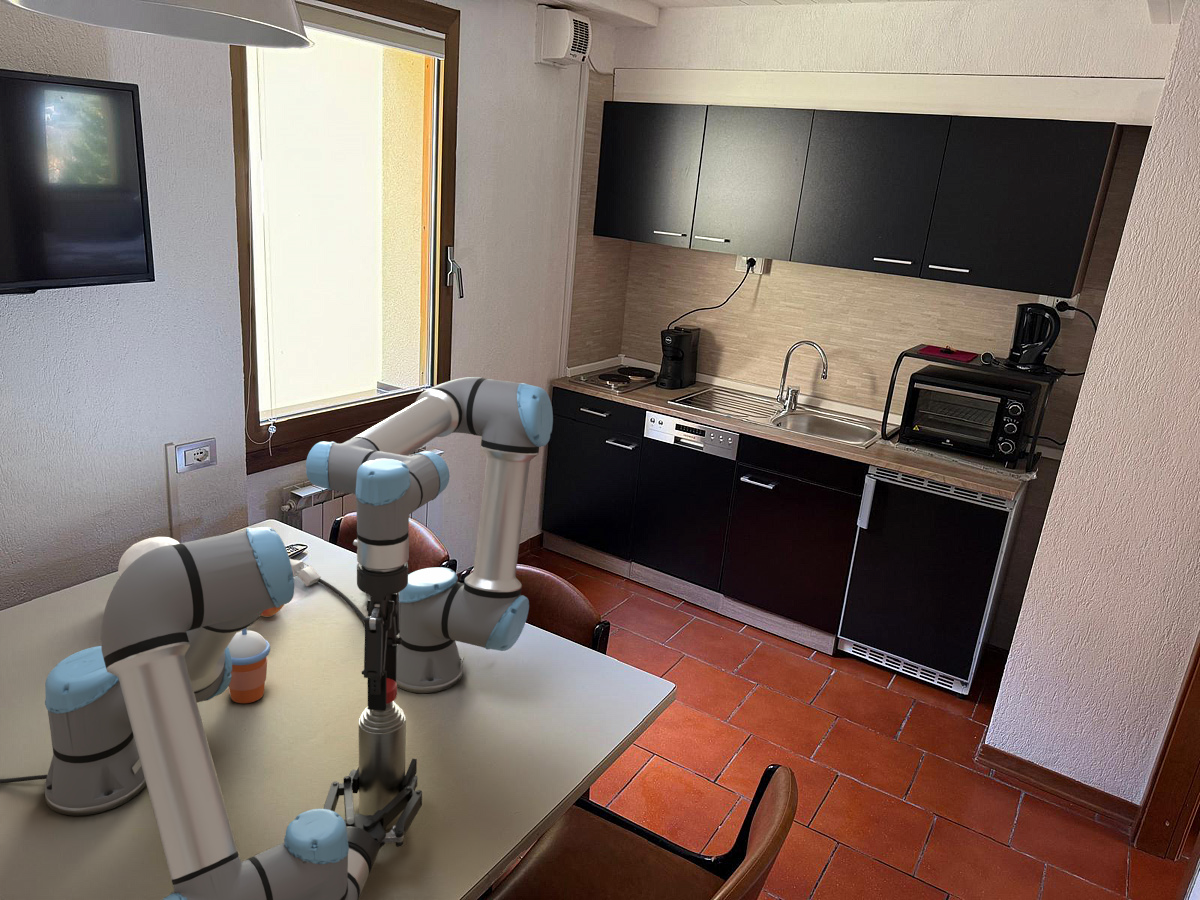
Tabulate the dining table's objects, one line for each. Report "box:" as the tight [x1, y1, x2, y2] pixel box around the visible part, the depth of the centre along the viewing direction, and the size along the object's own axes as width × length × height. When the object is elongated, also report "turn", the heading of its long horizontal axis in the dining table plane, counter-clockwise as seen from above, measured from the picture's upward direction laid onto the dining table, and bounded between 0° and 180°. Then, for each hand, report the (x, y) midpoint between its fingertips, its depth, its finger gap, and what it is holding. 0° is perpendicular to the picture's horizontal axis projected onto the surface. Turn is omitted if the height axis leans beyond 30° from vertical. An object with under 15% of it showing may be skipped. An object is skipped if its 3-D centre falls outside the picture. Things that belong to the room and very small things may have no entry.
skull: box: [117, 536, 180, 578], centre depth 200 cm, size 13×22×16 cm, turn 73°
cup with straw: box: [228, 627, 271, 704], centre depth 167 cm, size 9×9×18 cm
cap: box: [386, 678, 398, 704], centre depth 135 cm, size 4×4×2 cm
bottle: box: [358, 700, 407, 831], centre depth 138 cm, size 7×7×24 cm
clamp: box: [289, 558, 322, 587], centre depth 219 cm, size 20×4×7 cm, turn 62°
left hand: (390, 763), depth 145 cm, fingers closed on bottle, 7 cm apart
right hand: (382, 694), depth 135 cm, fingers open, 7 cm apart
